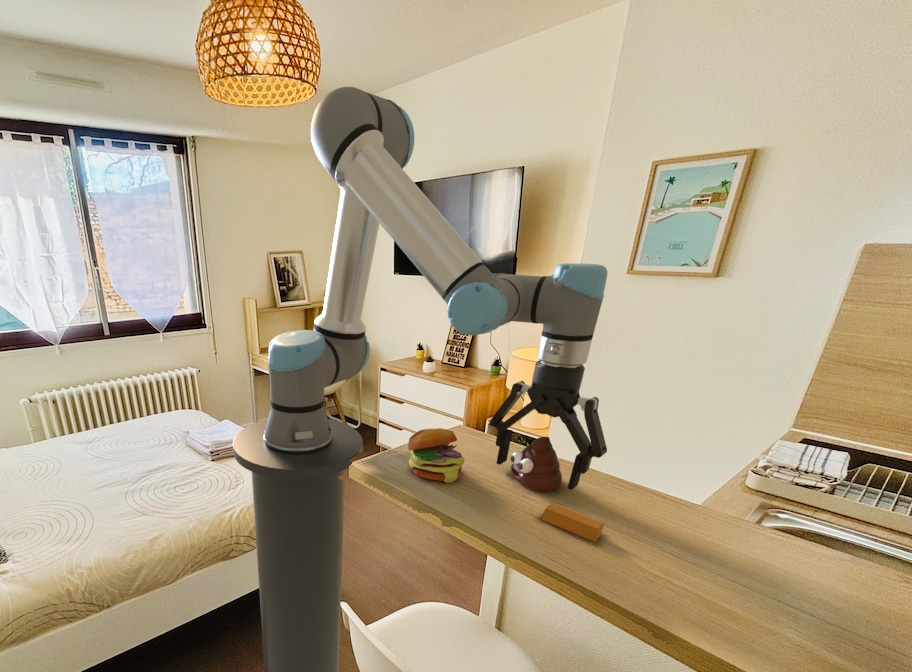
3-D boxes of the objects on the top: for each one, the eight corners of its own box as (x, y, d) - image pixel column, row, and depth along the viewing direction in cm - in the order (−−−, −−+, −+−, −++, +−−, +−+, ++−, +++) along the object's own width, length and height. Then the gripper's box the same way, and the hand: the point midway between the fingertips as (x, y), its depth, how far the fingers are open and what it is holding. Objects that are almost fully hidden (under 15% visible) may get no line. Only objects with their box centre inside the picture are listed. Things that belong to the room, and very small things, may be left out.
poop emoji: (570, 492, 84) (583, 445, 80) (524, 494, 83) (535, 447, 79) (540, 467, 93) (551, 423, 89) (499, 468, 92) (508, 425, 88)
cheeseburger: (431, 490, 85) (428, 436, 82) (398, 477, 94) (394, 429, 92) (474, 478, 88) (472, 426, 86) (438, 467, 98) (436, 420, 96)
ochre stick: (541, 520, 76) (545, 507, 75) (548, 514, 78) (551, 502, 77) (594, 542, 71) (598, 529, 70) (600, 535, 72) (604, 523, 71)
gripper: (481, 353, 84) (465, 458, 94) (637, 382, 68) (599, 507, 77) (502, 346, 89) (484, 447, 98) (652, 373, 72) (615, 491, 81)
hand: (535, 474), depth 88 cm, fingers open, 13 cm apart
